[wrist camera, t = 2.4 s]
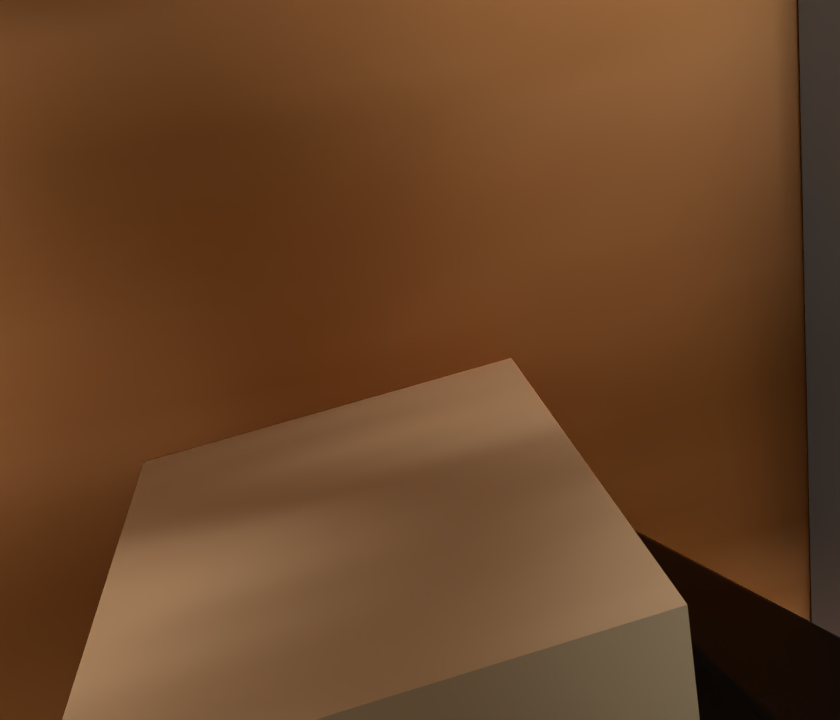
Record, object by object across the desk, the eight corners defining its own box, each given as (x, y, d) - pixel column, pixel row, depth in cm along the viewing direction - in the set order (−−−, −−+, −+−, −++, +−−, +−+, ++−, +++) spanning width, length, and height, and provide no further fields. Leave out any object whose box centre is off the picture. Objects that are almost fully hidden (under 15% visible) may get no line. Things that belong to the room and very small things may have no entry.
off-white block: (262, 721, 11) (252, 1132, 7) (145, 458, 9) (33, 806, 5) (563, 628, 11) (726, 971, 7) (509, 355, 9) (687, 604, 5)
